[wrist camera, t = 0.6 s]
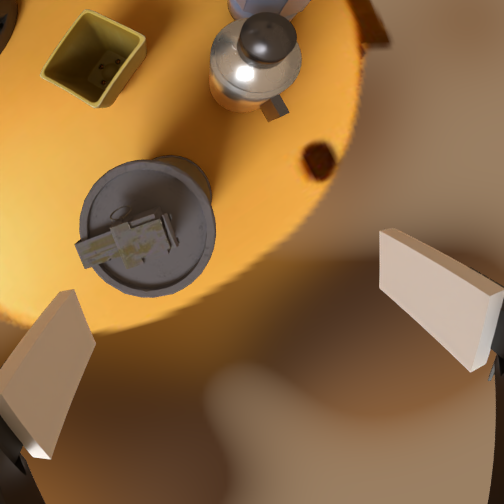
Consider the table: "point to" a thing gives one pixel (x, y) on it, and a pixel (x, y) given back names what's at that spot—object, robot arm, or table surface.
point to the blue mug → (266, 7)
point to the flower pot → (95, 59)
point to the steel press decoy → (254, 64)
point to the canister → (148, 226)
